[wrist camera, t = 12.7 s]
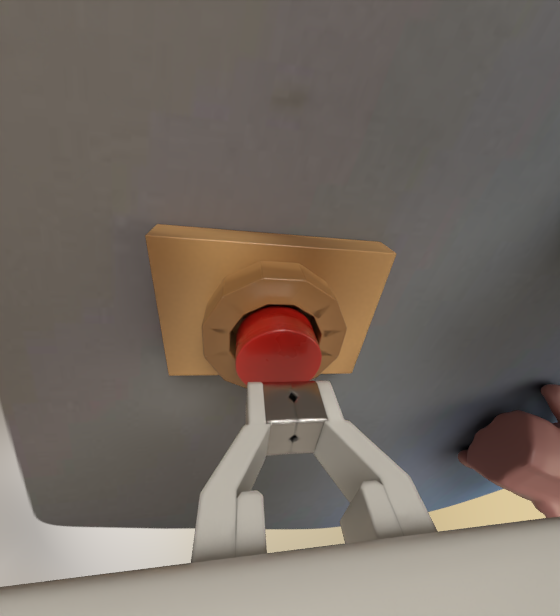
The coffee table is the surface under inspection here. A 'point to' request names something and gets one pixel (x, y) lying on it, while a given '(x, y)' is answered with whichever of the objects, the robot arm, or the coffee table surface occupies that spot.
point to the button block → (260, 292)
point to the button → (276, 347)
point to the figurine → (522, 454)
